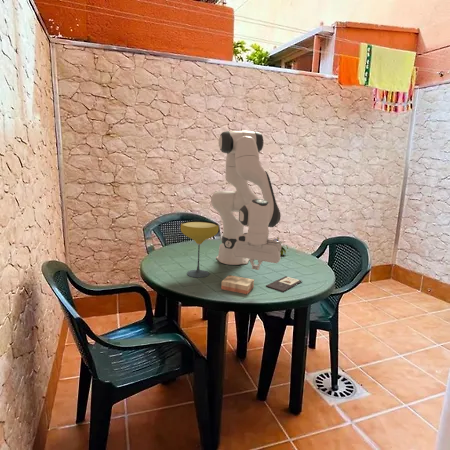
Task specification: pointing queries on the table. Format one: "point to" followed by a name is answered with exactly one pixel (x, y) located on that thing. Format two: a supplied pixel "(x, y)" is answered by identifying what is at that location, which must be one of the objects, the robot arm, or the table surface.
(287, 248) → the passion flower
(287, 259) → the table surface
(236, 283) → the tan wooden block
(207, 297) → the table surface
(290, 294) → the table surface
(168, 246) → the table surface
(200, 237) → the cocktail glass
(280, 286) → the chocolate bar
